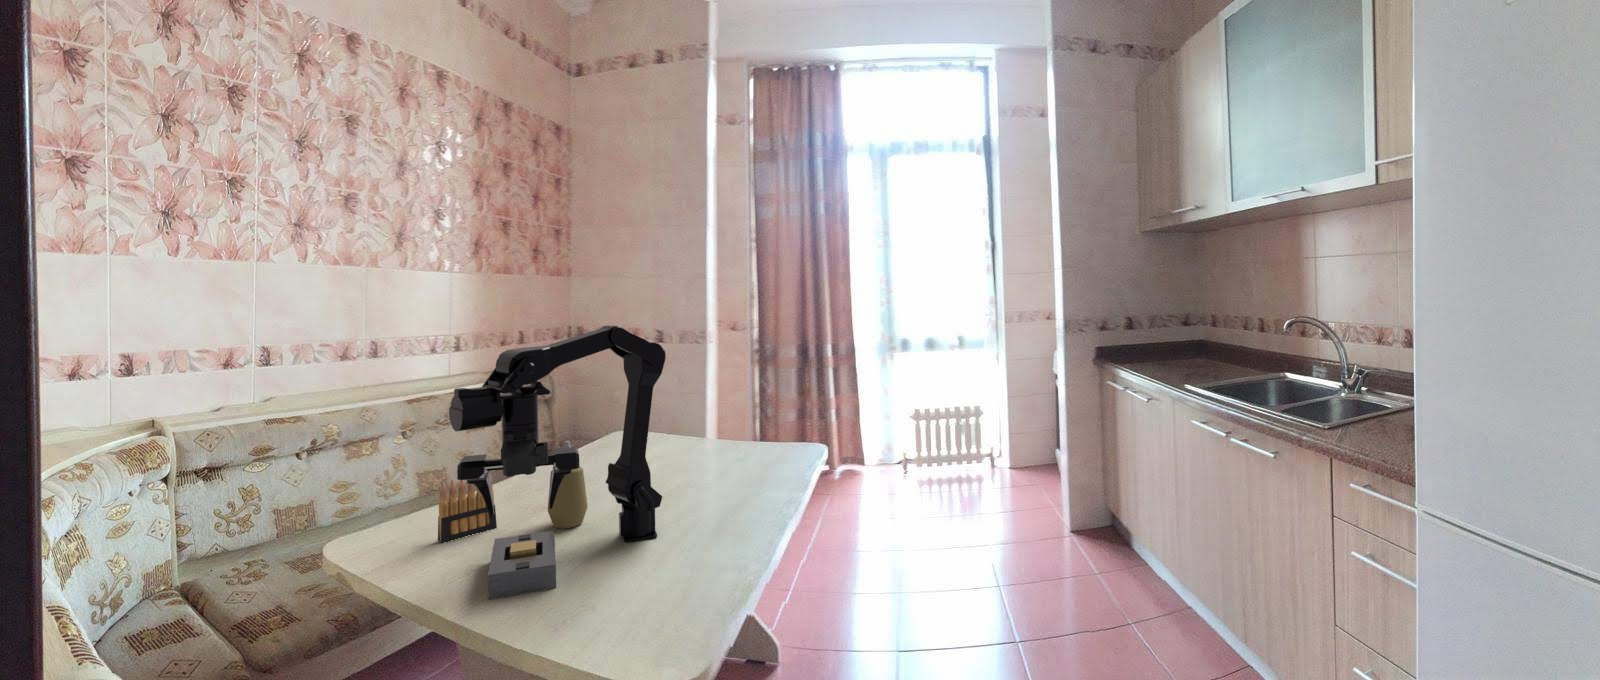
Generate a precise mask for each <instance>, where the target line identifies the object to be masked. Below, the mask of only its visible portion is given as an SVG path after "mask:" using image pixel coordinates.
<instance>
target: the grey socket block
mask: <svg viewBox="0 0 1600 680" xmlns="http://www.w3.org/2000/svg"><path fill="white" fill-rule="evenodd" d="M533 540H536V552H537V556H530V557H524V558H517V559H511V560H510V549H511V543H518V542H526V541H533ZM555 543H556V541H555V531H554V530H550V531H541V532H535V533H527V534H521V535H512V536H505V537H498V538H494V543H493V548H492V552H491V558H490V563H489V568H488V573H487V587H488V588H487V590H488V591H487V593H488V594H487V596H488V597H487V598H488V600H489V601H490V600H493V599H500V598H506V597H511V596H517V595H522V594H528V593H534V592H539V591H544V590H546V591H547V590H551V589H557V568H556V567H557V561H556V545H555Z"/></svg>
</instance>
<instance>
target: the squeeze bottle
mask: <svg viewBox="0 0 1600 680" xmlns="http://www.w3.org/2000/svg"><path fill="white" fill-rule="evenodd" d="M568 447H572V446H571V443H570V440H564V441H563V442H562V447H561V448H568ZM571 470H572V472H571V474H566V475H565V476H564V478H563V479H562V481H561V484H560V486H559V488H558V491H557V494H556V497H555V501H554V504H553V507H552V509H550V506H549V497H550V488H551V479H552V471H553V469H552V470H550V478H549V489H548V499H547V513H548V515H549V517H550V520H551V523H552V525H553V527H554V528H556V529H570V528H571V529H572V528H574V527H578V526H580V525H582V524H583V522H584V520H585V516H586V513H587V510H588V507H589V505H588V497H587V491H586V481H585V474H584V468H583V467H582V466H581V465H579V468H578V469H571Z"/></svg>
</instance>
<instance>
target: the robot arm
mask: <svg viewBox="0 0 1600 680" xmlns="http://www.w3.org/2000/svg"><path fill="white" fill-rule="evenodd" d="M605 350H610V351H611V352H612V353H614V354H615V355H616V356H617V357H618V356H619V357H620V358H621V359H622V360H623V371H624V375H625V377H626V379H627V383H628V387H627V388H628V389H627V398H626V405H625V412H624V413H625V415H624V424H623V433H622V441H621V449H620V454H619V457H618V458H617V460H616V462H615V463H612V462H609V463H608V466H607V476H606V480H605V484H607V488H608V492H609V493H610V494H611V495H612V496H613V497H614V498H615V501H616V503H617V504H620V505H621V512H618V532H619V536H620V537H622V540H623V542H625V543H628V542H629V543H630V542H635V541H641V540H648V539H654V538H658V533H657V531H656V509H657V508H660V507H661V504H662V499H663V495H661V494H660V493H659V492H658V491H657V490H655V489H654V488H653V487H652V481H651V480H652V479H651V477H652V476H651V475H652V474H651V469H650V466H649V463H648V461H647V458H646V454H647V447H648V446H647V444H648V435H649V429H650V428H649V427H650V420H651V411H652V410H651V409H652V402H653V394H654V387H655V384H656V383H657V382H658V380H659V379H660V377H661V376H662V373H663V370H664V367H665V366H664V365H665V362H666V357H667V356H666V350H665V349H664V348H663V346H661V344H659V343H658V342H652V341H651V342H650V341H648V340H646V339H644V338H642V337H640V336H638V335H636V334H634V333H631V332H629V331H628V330H626V329H625V328H623V327H622V326H619V325H604V326H603V325H602V327H600V328H598V329H595V330H591V331H588V332H585V333H582V334H579V335H575V336H573V337H570V338H565V339H564V340H560V341H559V340H558V341H556V342H554V343H550V344H547V345H540V346H539V345H538V346H527V347H520V348H518V347H517V348H512V349H507V350H504V351H502V352H501V353H500V354H498V357H497V359H496V362H495V368H494V369H493V370H492V372H491V373H490V374H489V376H488V377H487V379H486V380H485V381H484V383H483V384H482V386H481V387H472V388H470V387H469V388H465V387H458V388H454V390H453V397H452V398H451V401H450V406H449V407H448V417H449V423H450V425H451V428H452V429H453V430H454V432H462V431H469V430H477V429H484V428H490V427H495V426H496V425H497V423H500V422H501V447H500V458H493V459H488V457H487V455H488V454H486V453H485V454H476V455H473V454H472V455H464V456H463V457H461V459H460V460H459V462H458V464H457V469H456V472H457V479H456V480H458V481H460V480H464V481H465V480H466V484H467V485H468V484H474V487H476V489H477V488H478V489H479V491H480V493H481V494H482V496H483V498H484V501H485V503H486V506H487V508H488V510H489V513H490V515H491V516H493V515H494V505H495V501H494V502H493V495H492V488H491V480H490V474H491V472H492V471H499V470H502V473H503V474H502V475H503V476H504V477H513V476H517V475H527V476H528V475H533V474H535V473H536V471H537V467H544V466H552V470H553V471H552V470H551V471H552V479H551V488H550V487H549V488H550V497H549V496H548V499H549V506H550V509H552V507H553V504H554V501H555V497H556V494H557V491H558V488H559V486H560V484H561V481H562V479H563V478H564V476H565V475H566V474H571V472H572V470H571V469H578V468H579V466H580V455H579V454H580V453H579V449H578V448H576V447H574V446H573V447H572V446H571V447H568V448H562V447H559V448H558V447H557V448H554V453H551V454H550V453H549V444H548V441H544V442H542V441H541V442H540V439H539V434H540V433H539V396H545V395H550V394H551V390H550V389H548V388H547V387H546V386H545V385H544V384H543V383H542V382H541V381H539V380H541V379H543V378H545V377H546V376H548V375H550V374H551V373H552V372H553V371H554V370H556V369H557V368H559V367H561V366H564V365H566V364H568V363H572V362H574V361H577V360H580V359H583V358H586V357H588V356H591V355H594V354H598V353H600V352H603V351H605ZM490 471H491V472H490Z"/></svg>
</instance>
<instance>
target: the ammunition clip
mask: <svg viewBox="0 0 1600 680" xmlns="http://www.w3.org/2000/svg"><path fill="white" fill-rule="evenodd" d="M490 480H491V488H492V495H493V502H494V503H495V492H494V487H493V486H494V485H493V478H492V474H491V473H490ZM449 483H450V484H449V488H448V492H447V487H446V484H445V482H444V481H442V482H441V484H440V487H439V501H438V516H437V517H438V519H437V520H438V521H437V522H438V523H437V542H439V543H440V544H442V543H443V544H445V543H444V542H446V543H449V542H448V541H450V542H452V541H451V540H453V541H456V540H455V539H457V540H459V539H458V538H460V539H463V538H462V537H464V538H466V537H465V536H468V535H471V536H473V535H472V534H475V535H477V534H476V533H478V534H481V533H480V532H482V533H485V532H488V531H487V530H489V531H491V529H492V530H496V529H497V528H498V526H497V523H498V522H497V515H496V514H497V513H496V504H494V515H493V516H491V515H490V513H489V510H488V508H487V506H486V503H485V501H484V498H483V496H482V494H481V493H480V491H479V489H478V488H477V487H476V489H475V485H474V484H467V491H466V483H465V480H459V483H458V494H457V486H456V483H455V481H454V479H451V480H450V482H449ZM447 493H449V495H447ZM457 495H458V497H457ZM495 528H496V529H495ZM484 531H485V532H484ZM468 537H469V536H468Z"/></svg>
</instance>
